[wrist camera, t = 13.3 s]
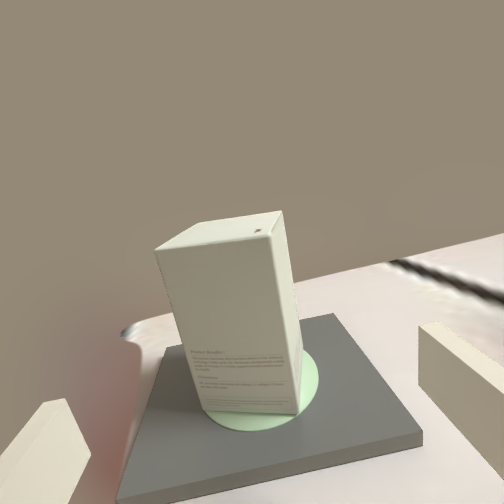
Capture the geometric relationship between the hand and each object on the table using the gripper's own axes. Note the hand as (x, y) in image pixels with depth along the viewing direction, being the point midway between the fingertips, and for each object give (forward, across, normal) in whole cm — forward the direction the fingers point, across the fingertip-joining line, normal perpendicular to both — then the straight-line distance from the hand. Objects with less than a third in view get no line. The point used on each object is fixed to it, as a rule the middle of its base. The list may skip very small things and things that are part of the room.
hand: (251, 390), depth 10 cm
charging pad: (+10, 0, -10) cm, 14 cm away
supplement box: (+10, 0, -8) cm, 13 cm away
